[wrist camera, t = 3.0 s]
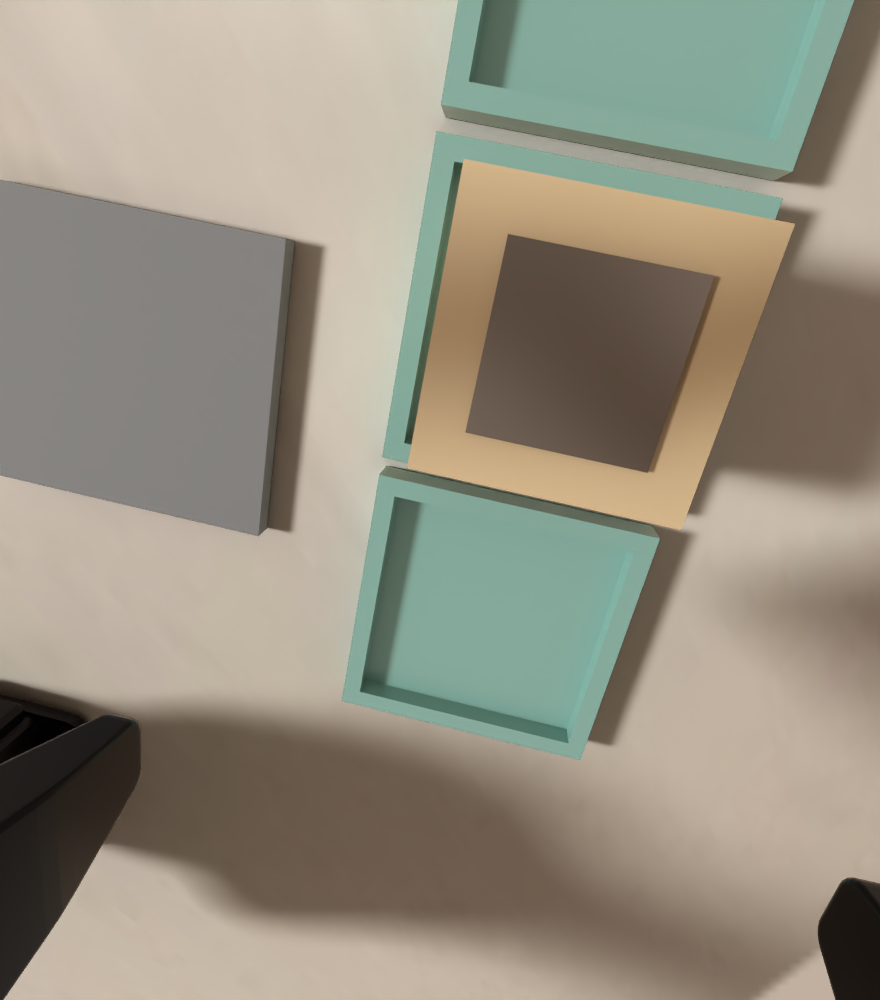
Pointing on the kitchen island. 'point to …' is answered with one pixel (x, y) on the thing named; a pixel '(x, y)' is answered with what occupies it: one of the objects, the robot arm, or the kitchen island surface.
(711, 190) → the dish middle
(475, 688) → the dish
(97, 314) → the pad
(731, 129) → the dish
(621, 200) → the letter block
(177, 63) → the kitchen island surface
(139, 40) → the kitchen island surface
